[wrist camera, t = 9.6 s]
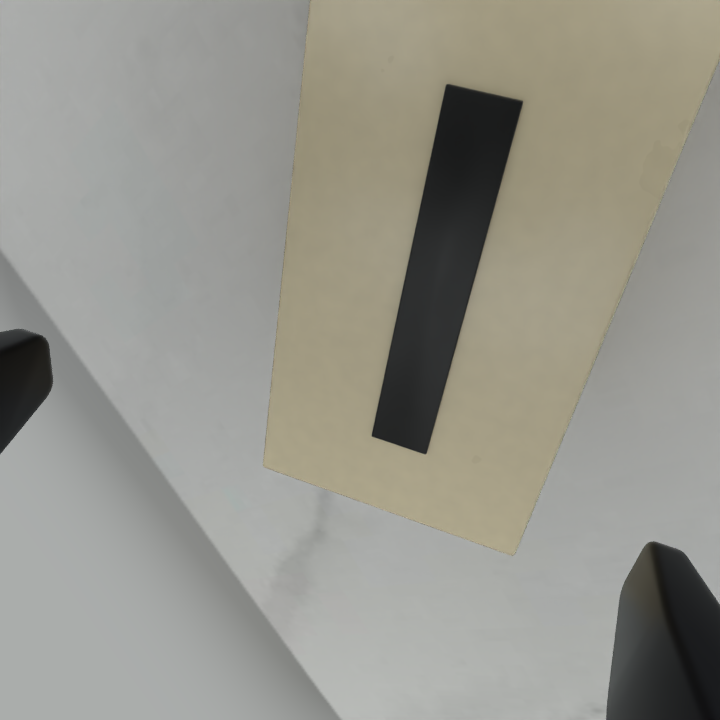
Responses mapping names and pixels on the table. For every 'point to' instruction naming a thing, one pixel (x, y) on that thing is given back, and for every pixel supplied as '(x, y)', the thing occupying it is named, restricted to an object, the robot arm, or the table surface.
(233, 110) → the table surface
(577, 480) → the table surface
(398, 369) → the toaster
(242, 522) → the table surface
